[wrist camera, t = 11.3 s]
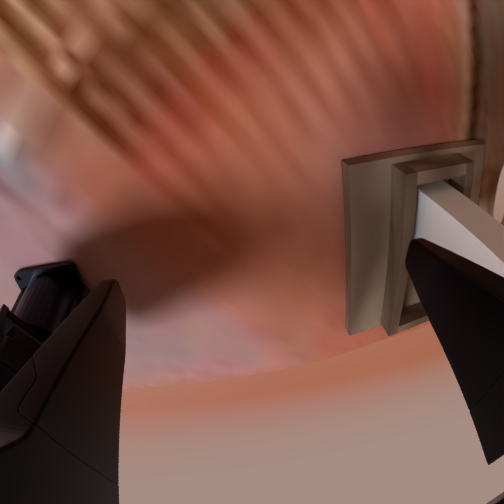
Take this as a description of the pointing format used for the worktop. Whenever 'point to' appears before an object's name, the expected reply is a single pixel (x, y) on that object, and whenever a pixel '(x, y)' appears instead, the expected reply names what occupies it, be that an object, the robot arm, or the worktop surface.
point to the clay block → (458, 225)
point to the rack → (394, 226)
